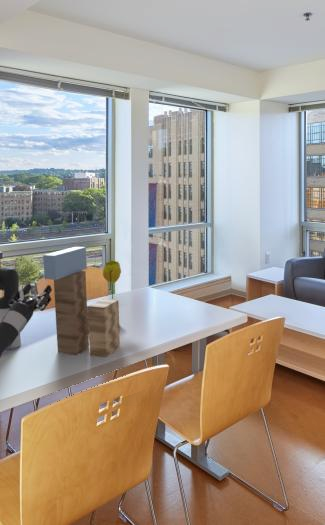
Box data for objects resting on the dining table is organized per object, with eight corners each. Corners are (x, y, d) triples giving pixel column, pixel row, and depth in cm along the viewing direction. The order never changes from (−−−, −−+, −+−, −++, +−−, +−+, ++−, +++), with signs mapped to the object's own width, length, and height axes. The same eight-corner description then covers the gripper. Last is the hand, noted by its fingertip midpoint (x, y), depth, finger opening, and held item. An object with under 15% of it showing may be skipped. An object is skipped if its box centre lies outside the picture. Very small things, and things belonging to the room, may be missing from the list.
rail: (56, 279, 173) (54, 255, 171) (44, 279, 174) (43, 255, 173) (86, 268, 193) (85, 247, 191) (76, 268, 195) (75, 246, 193)
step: (106, 357, 182) (104, 307, 179) (90, 355, 185) (88, 306, 181) (119, 347, 193) (118, 299, 190) (104, 345, 196) (102, 298, 192)
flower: (107, 320, 230) (105, 260, 225) (123, 320, 229) (121, 260, 224) (103, 326, 221) (101, 263, 216) (120, 326, 221) (118, 263, 215)
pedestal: (77, 355, 185) (73, 275, 180) (57, 352, 189) (53, 274, 183) (88, 347, 194) (85, 271, 188) (70, 344, 197) (66, 269, 191)
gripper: (3, 324, 161) (27, 292, 172) (38, 329, 156) (60, 295, 167) (-6, 309, 156) (19, 277, 168) (29, 313, 151) (53, 279, 163)
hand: (39, 286), depth 168 cm, fingers open, 8 cm apart
